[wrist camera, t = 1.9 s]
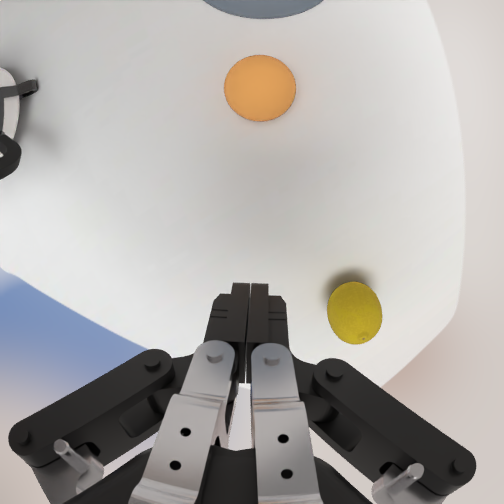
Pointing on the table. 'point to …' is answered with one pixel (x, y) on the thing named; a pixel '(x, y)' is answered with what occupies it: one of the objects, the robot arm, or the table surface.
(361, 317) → the lemon
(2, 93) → the coffee press
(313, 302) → the table surface
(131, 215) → the table surface
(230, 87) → the ball
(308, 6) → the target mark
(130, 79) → the table surface
